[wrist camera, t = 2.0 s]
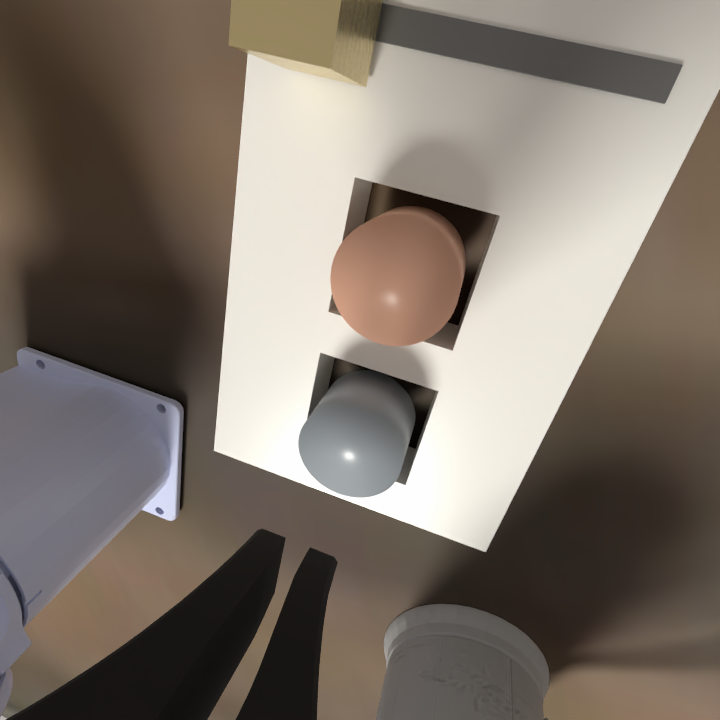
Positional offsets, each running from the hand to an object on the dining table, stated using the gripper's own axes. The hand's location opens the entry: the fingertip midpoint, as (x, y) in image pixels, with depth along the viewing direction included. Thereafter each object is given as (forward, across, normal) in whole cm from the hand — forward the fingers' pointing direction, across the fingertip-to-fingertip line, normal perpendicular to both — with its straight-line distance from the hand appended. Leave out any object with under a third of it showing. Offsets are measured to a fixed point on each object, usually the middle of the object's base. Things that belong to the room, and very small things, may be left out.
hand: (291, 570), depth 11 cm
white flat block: (+9, 0, -6) cm, 11 cm away
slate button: (+8, 0, 0) cm, 8 cm away
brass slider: (+7, +3, -12) cm, 14 cm away
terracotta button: (+8, 0, -6) cm, 10 cm away
